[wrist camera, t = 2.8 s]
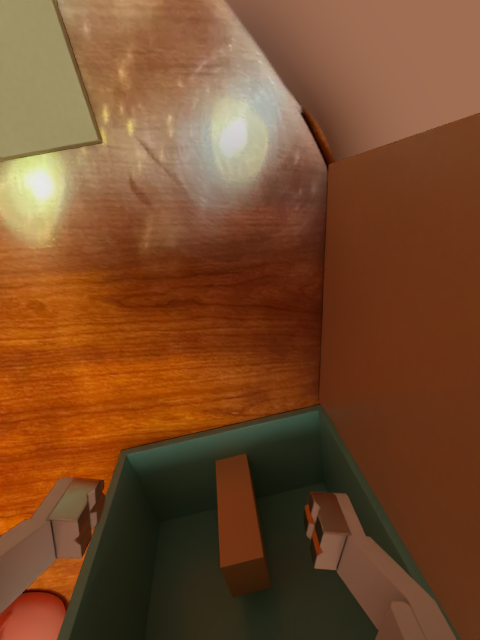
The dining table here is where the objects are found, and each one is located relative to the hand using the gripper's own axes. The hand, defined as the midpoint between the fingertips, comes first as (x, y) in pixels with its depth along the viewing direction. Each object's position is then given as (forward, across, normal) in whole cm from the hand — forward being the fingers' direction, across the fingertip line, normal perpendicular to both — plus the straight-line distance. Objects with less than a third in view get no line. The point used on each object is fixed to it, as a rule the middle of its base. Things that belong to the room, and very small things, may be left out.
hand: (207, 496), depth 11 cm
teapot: (+22, +29, +57) cm, 68 cm away
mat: (+17, +18, -20) cm, 32 cm away
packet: (+22, -3, +22) cm, 32 cm away
